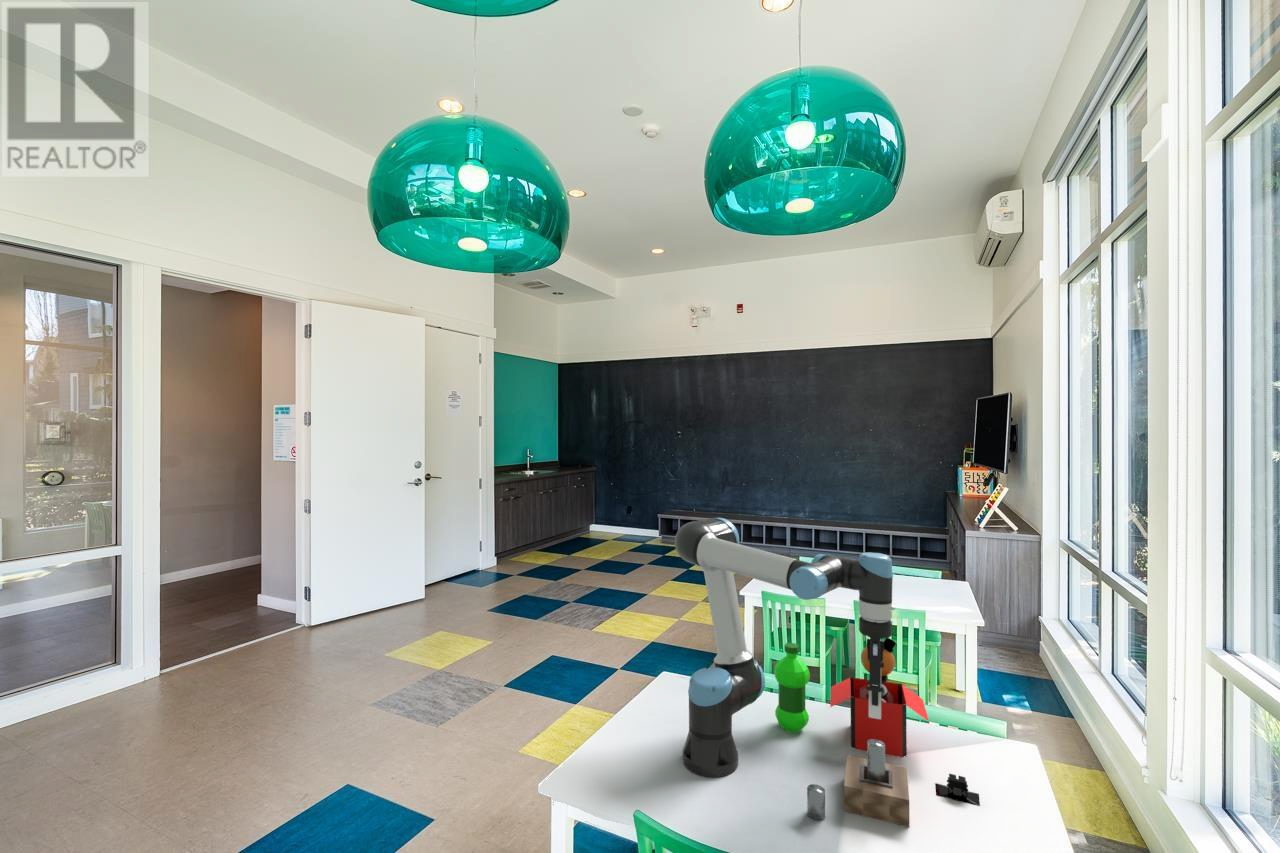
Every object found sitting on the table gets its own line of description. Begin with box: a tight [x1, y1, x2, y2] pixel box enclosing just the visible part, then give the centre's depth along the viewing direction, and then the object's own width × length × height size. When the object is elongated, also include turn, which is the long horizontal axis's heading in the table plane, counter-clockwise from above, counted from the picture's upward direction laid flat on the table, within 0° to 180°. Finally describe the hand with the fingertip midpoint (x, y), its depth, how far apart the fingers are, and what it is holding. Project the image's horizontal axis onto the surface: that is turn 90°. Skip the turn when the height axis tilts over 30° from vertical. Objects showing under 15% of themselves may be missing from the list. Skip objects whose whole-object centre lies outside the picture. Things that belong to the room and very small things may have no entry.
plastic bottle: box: [773, 642, 811, 733], centre depth 175 cm, size 10×10×25 cm
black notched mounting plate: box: [934, 773, 981, 807], centre depth 143 cm, size 12×7×5 cm, turn 63°
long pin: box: [866, 739, 886, 783], centre depth 140 cm, size 4×4×14 cm
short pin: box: [806, 783, 826, 822], centre depth 135 cm, size 4×4×6 cm
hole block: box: [843, 755, 910, 828], centre depth 140 cm, size 14×14×6 cm
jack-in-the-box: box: [829, 637, 930, 758], centre depth 169 cm, size 26×16×30 cm, turn 71°
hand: (875, 705), depth 141 cm, fingers open, 13 cm apart
